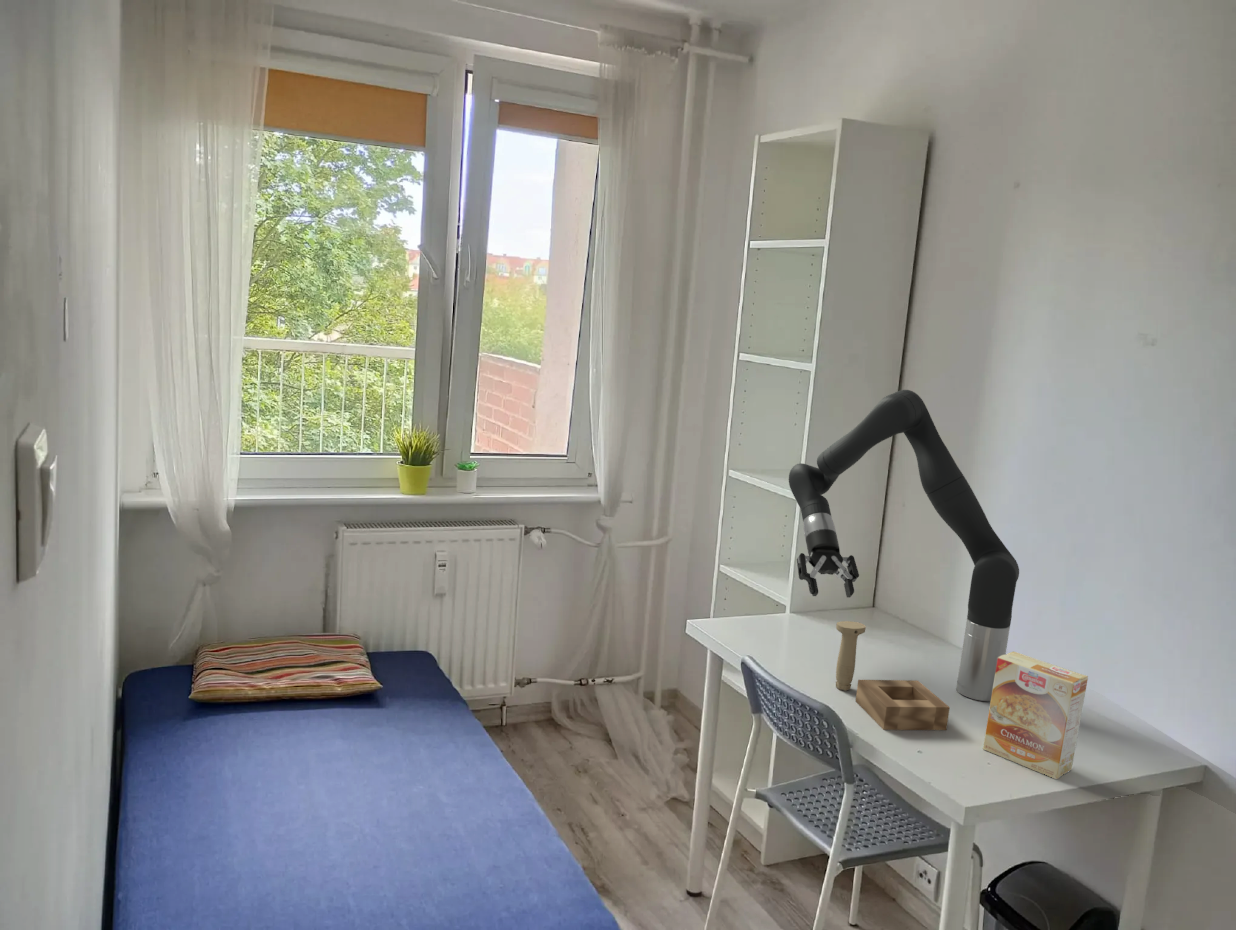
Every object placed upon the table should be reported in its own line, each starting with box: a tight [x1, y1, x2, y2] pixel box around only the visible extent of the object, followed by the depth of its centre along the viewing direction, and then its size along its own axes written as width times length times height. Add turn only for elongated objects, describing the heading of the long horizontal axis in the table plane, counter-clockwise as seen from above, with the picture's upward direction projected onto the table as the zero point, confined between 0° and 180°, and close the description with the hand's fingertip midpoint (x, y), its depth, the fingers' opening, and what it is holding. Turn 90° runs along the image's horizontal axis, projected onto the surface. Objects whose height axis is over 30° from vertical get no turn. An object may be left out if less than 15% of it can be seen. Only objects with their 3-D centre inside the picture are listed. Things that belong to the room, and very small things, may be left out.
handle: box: [835, 620, 867, 692], centre depth 216 cm, size 5×6×15 cm
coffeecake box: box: [982, 651, 1089, 780], centre depth 187 cm, size 15×7×20 cm, turn 42°
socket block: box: [855, 679, 951, 731], centre depth 205 cm, size 14×14×5 cm
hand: (832, 595), depth 226 cm, fingers open, 8 cm apart
